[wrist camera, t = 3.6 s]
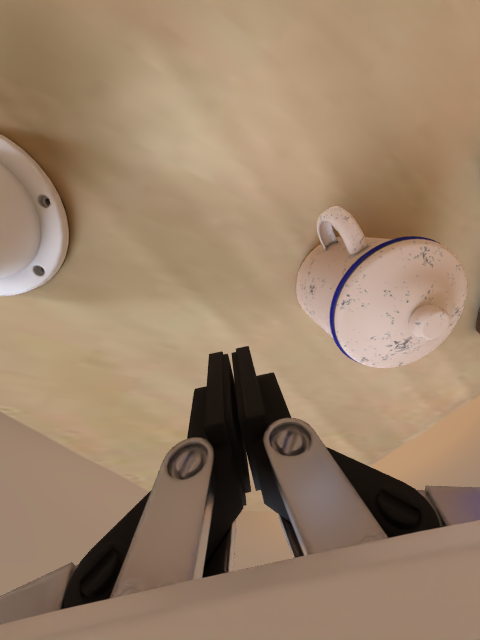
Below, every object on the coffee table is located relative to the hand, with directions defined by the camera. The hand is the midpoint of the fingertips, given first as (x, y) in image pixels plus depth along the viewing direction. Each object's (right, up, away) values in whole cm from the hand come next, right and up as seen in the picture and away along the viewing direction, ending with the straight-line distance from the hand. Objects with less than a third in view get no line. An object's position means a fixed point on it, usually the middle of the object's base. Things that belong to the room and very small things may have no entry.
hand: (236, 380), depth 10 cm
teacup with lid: (+9, +8, +14) cm, 18 cm away
